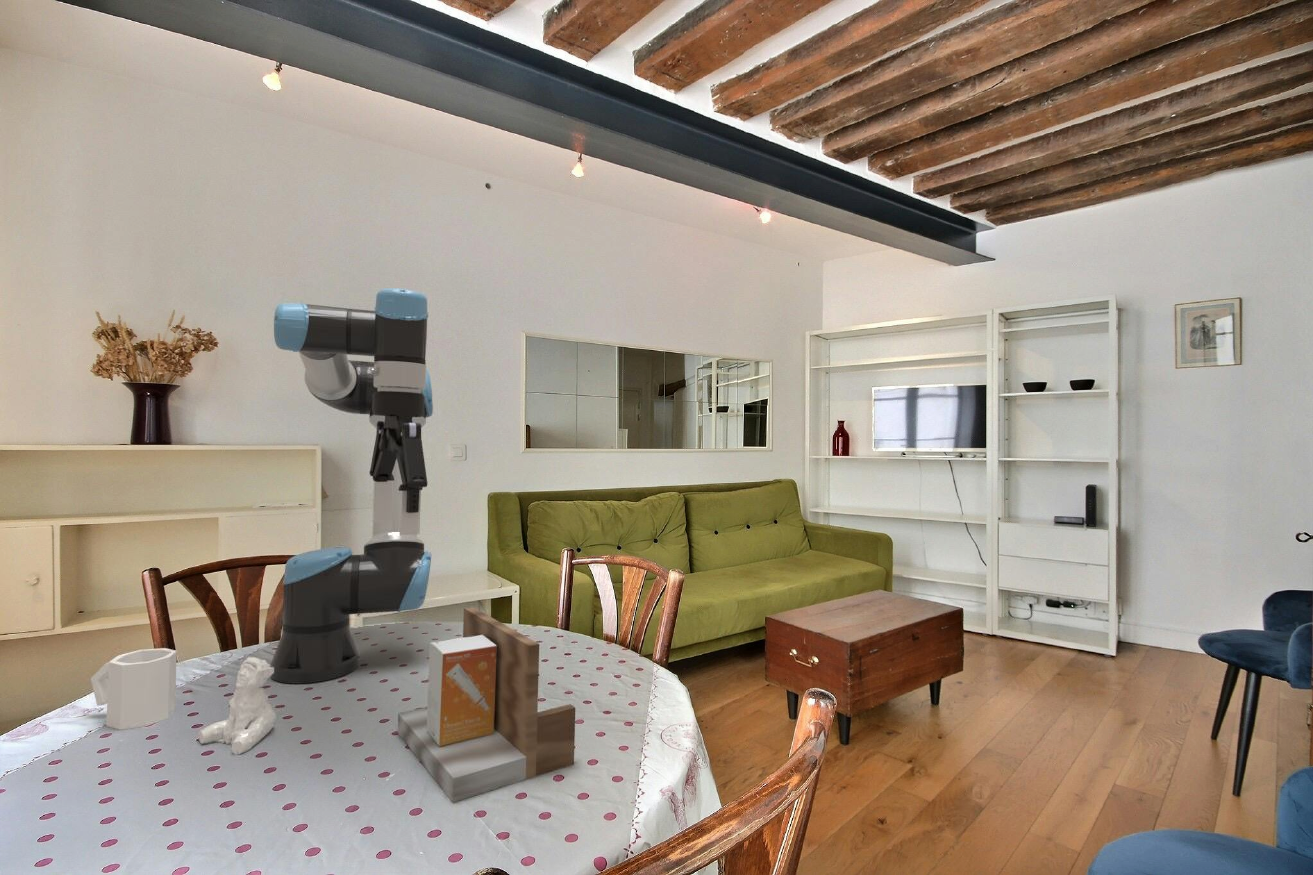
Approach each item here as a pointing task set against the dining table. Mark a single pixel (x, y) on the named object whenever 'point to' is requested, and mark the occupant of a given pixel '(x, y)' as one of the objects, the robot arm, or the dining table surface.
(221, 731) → the sitting furry creature
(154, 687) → the mug
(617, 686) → the dining table surface
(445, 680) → the small box
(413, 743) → the wall board
